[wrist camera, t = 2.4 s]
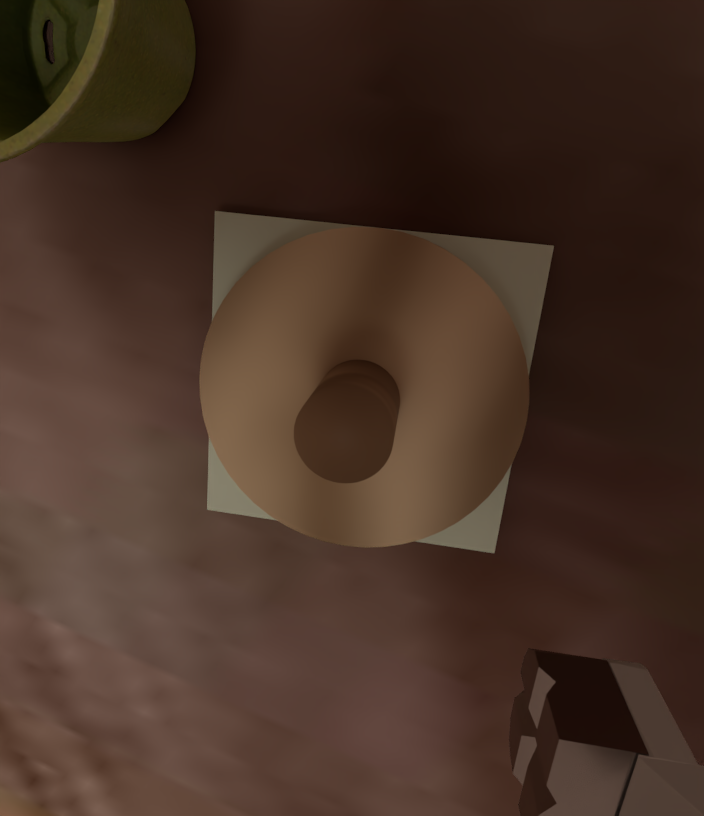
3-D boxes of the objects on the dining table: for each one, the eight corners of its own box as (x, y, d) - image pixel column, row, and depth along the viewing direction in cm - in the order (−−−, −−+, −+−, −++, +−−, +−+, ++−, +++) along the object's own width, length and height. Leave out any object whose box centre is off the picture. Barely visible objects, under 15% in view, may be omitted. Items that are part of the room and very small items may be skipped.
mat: (550, 245, 20) (554, 245, 20) (492, 545, 24) (494, 553, 24) (220, 211, 22) (214, 211, 21) (212, 503, 25) (207, 509, 25)
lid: (554, 246, 20) (595, 250, 15) (494, 553, 24) (510, 638, 19) (215, 210, 21) (149, 204, 16) (207, 509, 25) (151, 578, 20)
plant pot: (245, 198, 21) (129, 176, 13) (7, 186, 22) (-239, 160, 14) (244, -113, 19) (97, -386, 10) (-27, -110, 20) (-358, -357, 11)
